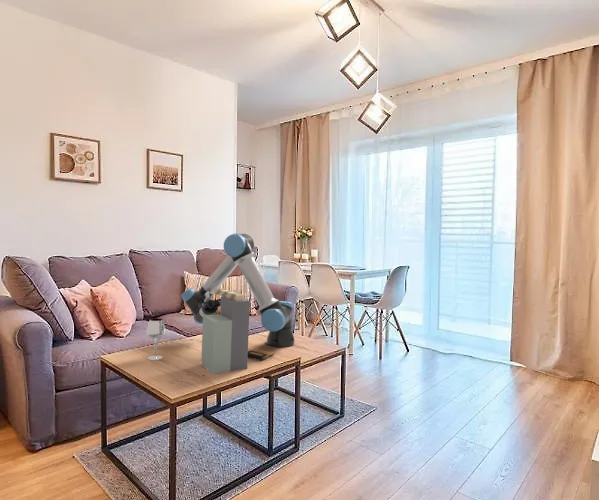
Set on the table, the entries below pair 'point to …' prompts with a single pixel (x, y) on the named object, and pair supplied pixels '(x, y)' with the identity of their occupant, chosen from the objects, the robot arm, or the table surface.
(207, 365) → the step stand
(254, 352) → the ammunition clip
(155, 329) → the wineglass
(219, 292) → the beech bar
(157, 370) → the table surface
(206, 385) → the table surface
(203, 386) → the table surface
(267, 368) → the table surface
